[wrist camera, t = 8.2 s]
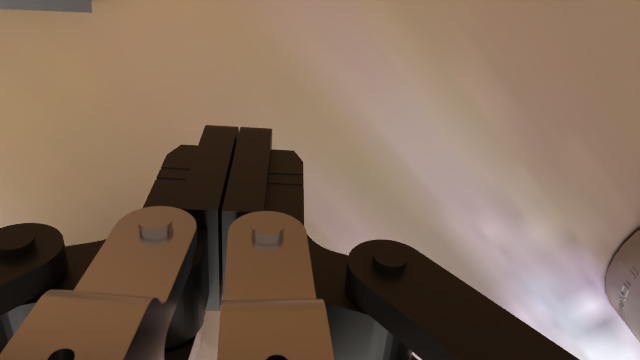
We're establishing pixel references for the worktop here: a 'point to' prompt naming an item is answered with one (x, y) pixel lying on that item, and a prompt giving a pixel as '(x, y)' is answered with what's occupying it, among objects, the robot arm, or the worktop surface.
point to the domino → (48, 5)
